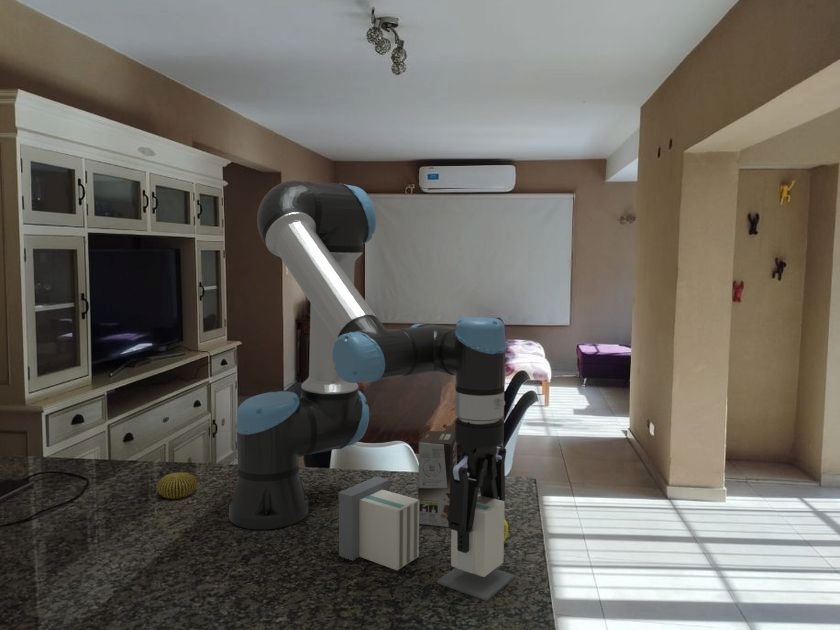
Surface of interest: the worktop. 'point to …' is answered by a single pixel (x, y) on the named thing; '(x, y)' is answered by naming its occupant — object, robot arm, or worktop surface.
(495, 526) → the stub
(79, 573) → the worktop surface
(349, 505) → the pad
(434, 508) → the coffee box
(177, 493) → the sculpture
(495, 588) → the mat
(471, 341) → the robot arm
